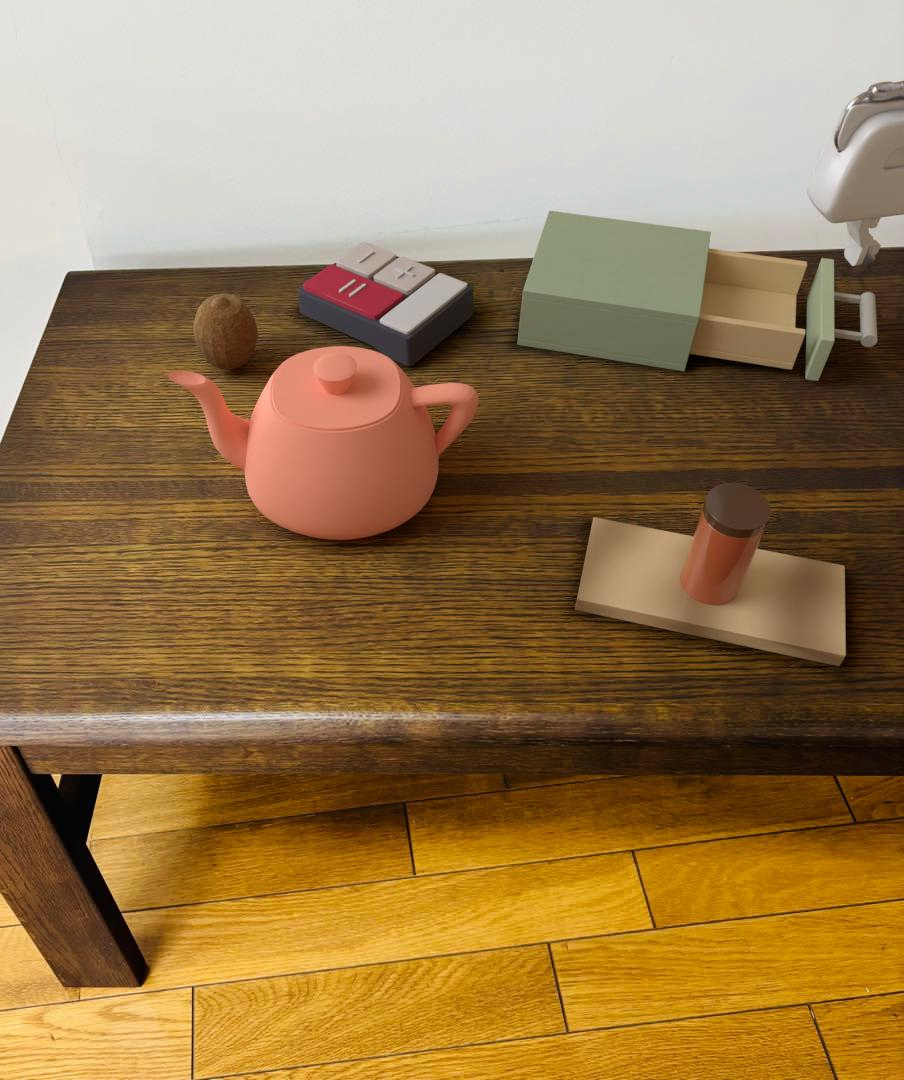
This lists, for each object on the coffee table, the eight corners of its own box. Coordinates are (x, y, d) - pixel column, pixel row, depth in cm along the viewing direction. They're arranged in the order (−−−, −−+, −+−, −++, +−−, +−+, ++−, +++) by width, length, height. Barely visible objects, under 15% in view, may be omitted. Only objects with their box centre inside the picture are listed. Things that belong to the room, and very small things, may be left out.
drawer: (863, 305, 102) (880, 265, 99) (866, 389, 94) (884, 348, 90) (666, 277, 106) (675, 238, 103) (652, 355, 98) (662, 315, 94)
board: (838, 576, 81) (845, 565, 80) (839, 667, 75) (846, 655, 74) (591, 528, 85) (593, 516, 84) (574, 610, 79) (577, 598, 78)
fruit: (187, 367, 100) (173, 301, 94) (231, 336, 103) (220, 271, 97) (230, 393, 98) (219, 326, 92) (274, 360, 101) (266, 294, 95)
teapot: (182, 555, 84) (151, 440, 74) (204, 420, 95) (181, 303, 85) (478, 551, 84) (488, 435, 73) (467, 416, 95) (474, 298, 84)
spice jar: (741, 566, 80) (772, 489, 73) (737, 610, 77) (770, 535, 70) (682, 554, 81) (708, 477, 74) (677, 598, 78) (703, 522, 71)
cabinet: (696, 286, 107) (711, 231, 102) (684, 371, 98) (699, 316, 93) (542, 264, 110) (549, 210, 105) (517, 344, 101) (522, 290, 96)
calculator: (362, 235, 108) (475, 279, 101) (365, 270, 111) (475, 314, 104) (294, 283, 103) (408, 332, 96) (299, 318, 106) (410, 368, 99)
